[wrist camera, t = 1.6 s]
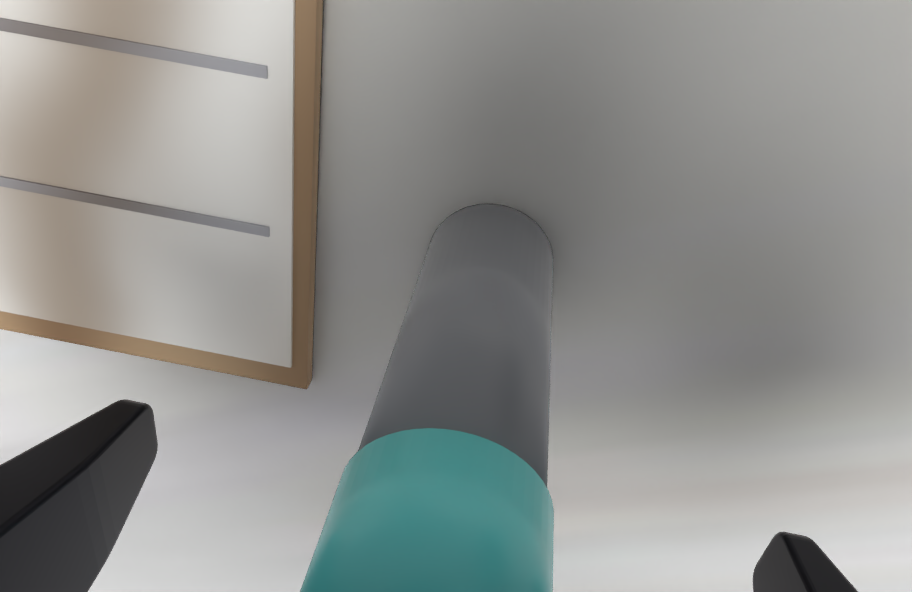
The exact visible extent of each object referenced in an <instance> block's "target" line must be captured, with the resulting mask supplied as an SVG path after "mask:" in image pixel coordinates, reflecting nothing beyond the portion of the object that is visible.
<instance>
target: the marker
mask: <svg viewBox="0 0 912 592" xmlns="http://www.w3.org/2000/svg"><path fill="white" fill-rule="evenodd" d="M552 283H553V254H552V249H551V245H550V243H549V240H548V238H547V236H546V235H545V233H544V232H543V230H542V229H541V228H540V227H539V225H538V224H537V223H536V222H534V221H533V220H532V219H531V218H530V217H528V216H527V215H525V214H523V213H522V212H520V211H518V210H515V209H513V208H510V207H506V206H502V205H496V204H480V205H474V206H470V207H466V208H464V209H461V210H459V211H457V212H455V213H453V214H452V215H451V216H449V217H448V218H446V219H445V220H444V221H443V222H442V223H441V224H440V226H439V227H438V228H437V230H436V232H435V233H434V235H433V237H432V240H431V243H430V246H429V248H428V251H427V254H426V257H425V260H424V263H423V266H422V269H421V271H420V274H419V277H418V280H417V283H416V286H415V289H414V292H413V294H412V297H411V300H410V303H409V306H408V309H407V312H406V315H405V318H404V320H403V323H402V326H401V329H400V332H399V335H398V338H397V341H396V343H395V346H394V349H393V352H392V355H391V358H390V361H389V364H388V366H387V369H386V372H385V375H384V378H383V381H382V384H381V387H380V389H379V392H378V395H377V398H376V401H375V404H374V407H373V410H372V412H371V415H370V418H369V421H368V424H367V427H366V430H365V433H364V435H363V438H362V441H361V444H360V447H359V450H358V452H357V453H356V454H355V455H354V456H353V457H352V458H351V459H350V461H349V462H348V464H347V466H346V467H345V469H344V471H343V474H342V477H341V480H340V482H339V485H338V488H337V491H336V493H335V496H334V499H333V502H332V505H331V507H330V510H329V513H328V516H327V518H326V521H325V524H324V527H323V530H322V532H321V535H320V538H319V541H318V543H317V546H316V549H315V552H314V555H313V557H312V560H311V563H310V566H309V568H308V571H307V574H306V577H305V580H304V582H303V585H302V588H301V591H300V592H553V529H554V509H553V503H552V499H551V496H550V494H549V491H548V489H547V469H548V432H549V395H550V357H551V320H552Z"/></svg>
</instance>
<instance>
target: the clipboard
mask: <svg viewBox="0 0 912 592" xmlns="http://www.w3.org/2000/svg"><path fill="white" fill-rule="evenodd" d="M322 18H323V0H0V329H4V330H9V331H14V332H19V333H24V334H29V335H34V336H39V337H44V338H49V339H54V340H59V341H64V342H69V343H75V344H80V345H85V346H90V347H95V348H100V349H105V350H110V351H115V352H120V353H125V354H130V355H135V356H141V357H146V358H151V359H156V360H161V361H166V362H171V363H176V364H181V365H186V366H191V367H196V368H201V369H206V370H212V371H217V372H222V373H227V374H232V375H237V376H242V377H247V378H252V379H257V380H262V381H267V382H272V383H278V384H283V385H288V386H293V387H298V388H303V389H307V388H308V386H309V384H310V382H311V380H312V356H313V322H314V288H315V255H316V221H317V187H318V153H319V120H320V86H321V52H322Z"/></svg>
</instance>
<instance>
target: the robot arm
mask: <svg viewBox="0 0 912 592" xmlns="http://www.w3.org/2000/svg"><path fill="white" fill-rule="evenodd" d="M157 447H158V444H157V436H156V429H155V422H154V415H153V410H152V408H151V407H150V406H149V405H148V404H146V403H141V402H136V401H131V400H120V401H117V402H115V403H113V404H111V405H109V406H107V407H106V408H104V409H102V410H100V411H98V412H97V413H95V414H93V415H91V416H89V417H87V418H86V419H84V420H82V421H80V422H78V423H76V424H75V425H73V426H71V427H69V428H67V429H65V430H64V431H62V432H60V433H58V434H56V435H54V436H53V437H51V438H49V439H47V440H45V441H43V442H42V443H40V444H38V445H36V446H34V447H32V448H31V449H29V450H27V451H25V452H23V453H22V454H20V455H18V456H16V457H14V458H12V459H11V460H9V461H7V462H5V463H3V464H1V465H0V592H88V590H89V589H90V587H91V585H92V584H93V582H94V580H95V579H96V577H97V575H98V574H99V572H100V570H101V569H102V567H103V565H104V564H105V562H106V560H107V558H108V557H109V555H110V553H111V551H112V549H113V547H114V545H115V543H116V541H117V539H118V537H119V534H120V532H121V530H122V528H123V526H124V524H125V522H126V520H127V517H128V515H129V513H130V511H131V509H132V507H133V505H134V503H135V500H136V498H137V496H138V494H139V492H140V490H141V488H142V486H143V483H144V481H145V479H146V477H147V475H148V473H149V471H150V469H151V466H152V464H153V462H154V460H155V457H156V454H157ZM753 591H754V592H858V591H857V590H856V589H855V588H854V587H853V585H852V584H851V583H850V582H849V581H848V580H847V579H846V577H845V576H844V575H843V574H842V573H841V572H840V571H839V569H838V568H837V567H836V566H835V565H834V564H833V562H832V561H831V560H830V559H829V558H828V557H827V556H826V554H825V553H824V552H823V551H822V550H821V549H820V548H819V546H818V545H817V544H816V543H815V542H814V541H813V540H812V539H810V538H808V537H806V536H802V535H797V534H792V533H787V532H779V533H777V534H776V535H775V536H774V537H773V539H772V540H771V542H770V543H769V545H768V547H767V548H766V550H765V551H764V553H763V555H762V556H761V558H760V559H759V561H758V563H757V564H756V567H755V569H754V574H753Z"/></svg>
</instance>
